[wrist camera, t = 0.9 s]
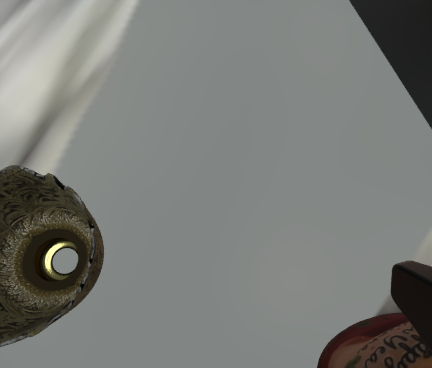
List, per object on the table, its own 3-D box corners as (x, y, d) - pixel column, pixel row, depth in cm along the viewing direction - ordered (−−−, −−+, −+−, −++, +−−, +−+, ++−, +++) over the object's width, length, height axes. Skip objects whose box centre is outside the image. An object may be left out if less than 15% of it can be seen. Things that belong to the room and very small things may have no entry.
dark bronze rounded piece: (48, 350, 20) (-37, 394, 12) (-19, 255, 21) (-136, 241, 13) (147, 266, 22) (127, 258, 14) (81, 183, 23) (29, 135, 15)
